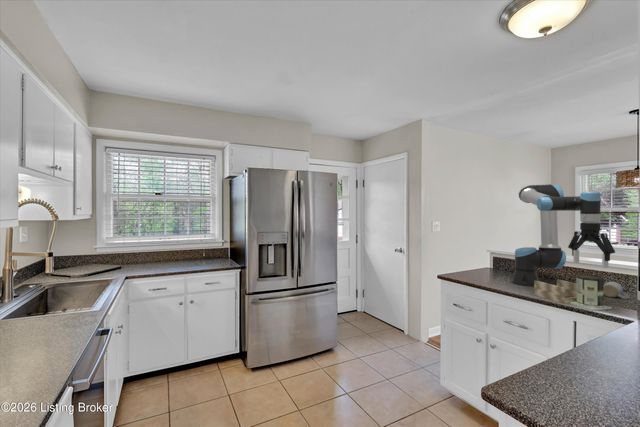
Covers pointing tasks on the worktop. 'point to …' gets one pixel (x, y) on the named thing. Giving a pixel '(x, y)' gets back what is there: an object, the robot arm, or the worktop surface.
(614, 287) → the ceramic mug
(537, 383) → the worktop surface
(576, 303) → the trivet
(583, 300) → the coffee can
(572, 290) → the access box
